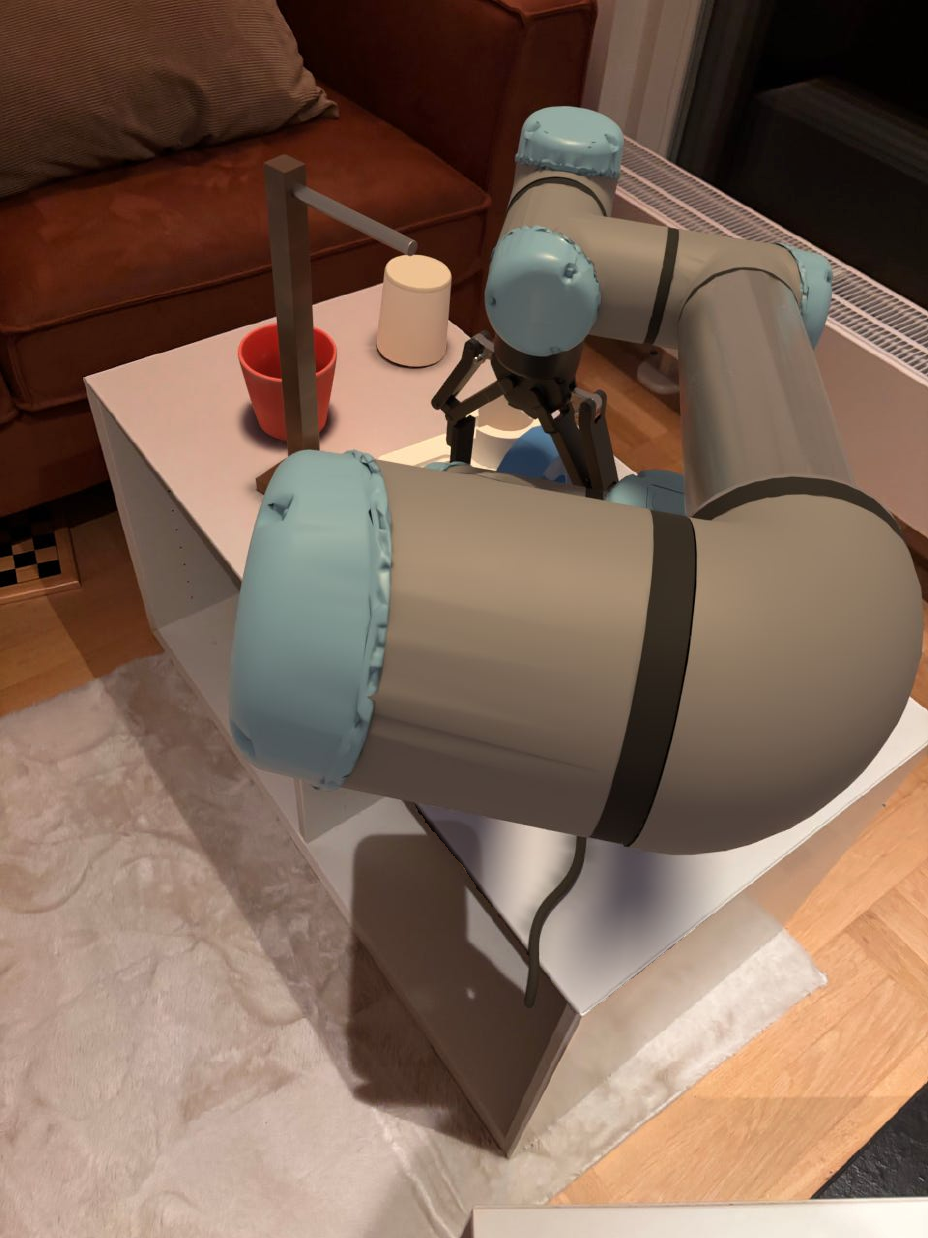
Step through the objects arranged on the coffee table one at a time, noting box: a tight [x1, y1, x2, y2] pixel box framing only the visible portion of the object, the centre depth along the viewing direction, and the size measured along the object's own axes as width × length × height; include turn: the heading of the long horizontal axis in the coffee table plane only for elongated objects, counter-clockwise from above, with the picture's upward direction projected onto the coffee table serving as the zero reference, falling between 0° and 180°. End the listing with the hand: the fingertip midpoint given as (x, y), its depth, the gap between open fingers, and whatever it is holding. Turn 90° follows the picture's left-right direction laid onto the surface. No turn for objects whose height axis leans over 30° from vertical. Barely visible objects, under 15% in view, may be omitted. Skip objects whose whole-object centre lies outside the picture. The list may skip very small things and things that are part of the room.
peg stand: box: [255, 153, 418, 495], centre depth 86 cm, size 17×8×35 cm, turn 52°
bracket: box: [377, 395, 541, 471], centre depth 102 cm, size 20×9×7 cm, turn 123°
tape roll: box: [496, 425, 573, 485], centre depth 95 cm, size 4×11×11 cm
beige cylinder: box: [375, 254, 452, 367], centre depth 116 cm, size 11×9×10 cm
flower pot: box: [237, 322, 338, 442], centre depth 104 cm, size 11×11×10 cm
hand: (512, 504), depth 93 cm, fingers open, 13 cm apart
